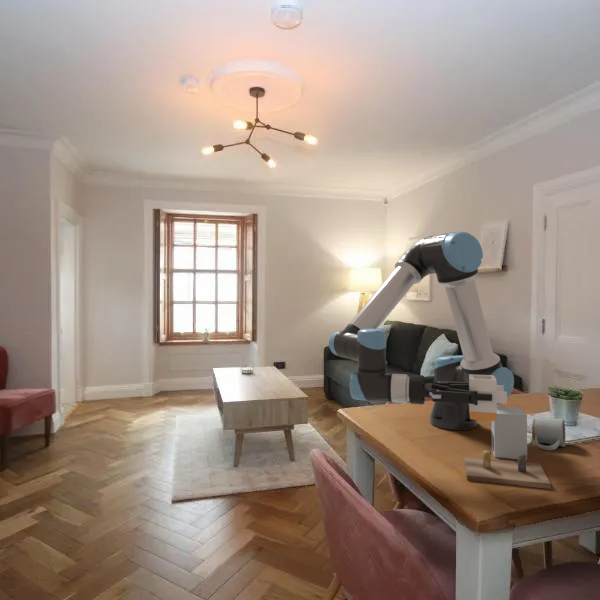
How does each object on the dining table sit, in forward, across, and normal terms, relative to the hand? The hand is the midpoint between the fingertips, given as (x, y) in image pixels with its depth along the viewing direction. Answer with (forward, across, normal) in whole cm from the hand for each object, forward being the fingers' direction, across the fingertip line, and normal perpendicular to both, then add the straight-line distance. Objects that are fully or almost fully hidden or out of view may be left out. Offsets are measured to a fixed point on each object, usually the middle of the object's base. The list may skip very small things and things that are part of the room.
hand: (504, 394), depth 108 cm
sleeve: (-5, 0, -6) cm, 8 cm away
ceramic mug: (+14, -25, -20) cm, 35 cm away
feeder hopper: (+2, -15, -20) cm, 25 cm away
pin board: (0, 0, -20) cm, 20 cm away
